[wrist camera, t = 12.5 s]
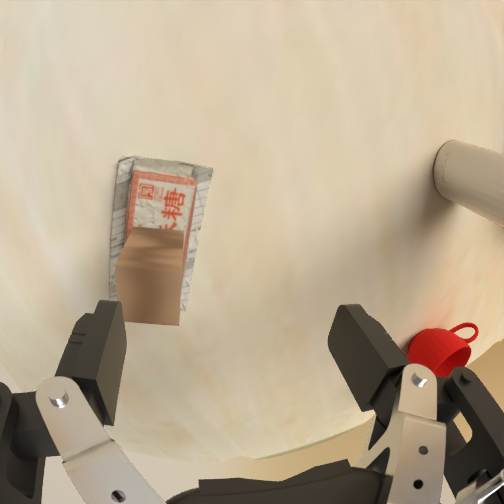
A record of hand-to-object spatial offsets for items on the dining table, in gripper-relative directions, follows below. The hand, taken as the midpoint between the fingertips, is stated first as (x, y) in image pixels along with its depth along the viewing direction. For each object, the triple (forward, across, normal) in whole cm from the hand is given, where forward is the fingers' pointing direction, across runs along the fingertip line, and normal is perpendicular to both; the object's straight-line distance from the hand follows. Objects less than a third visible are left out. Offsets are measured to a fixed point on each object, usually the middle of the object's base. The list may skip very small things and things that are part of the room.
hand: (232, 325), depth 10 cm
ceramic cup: (+24, -45, +25) cm, 57 cm away
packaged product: (+24, +6, +7) cm, 25 cm away
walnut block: (+19, +5, +6) cm, 20 cm away
